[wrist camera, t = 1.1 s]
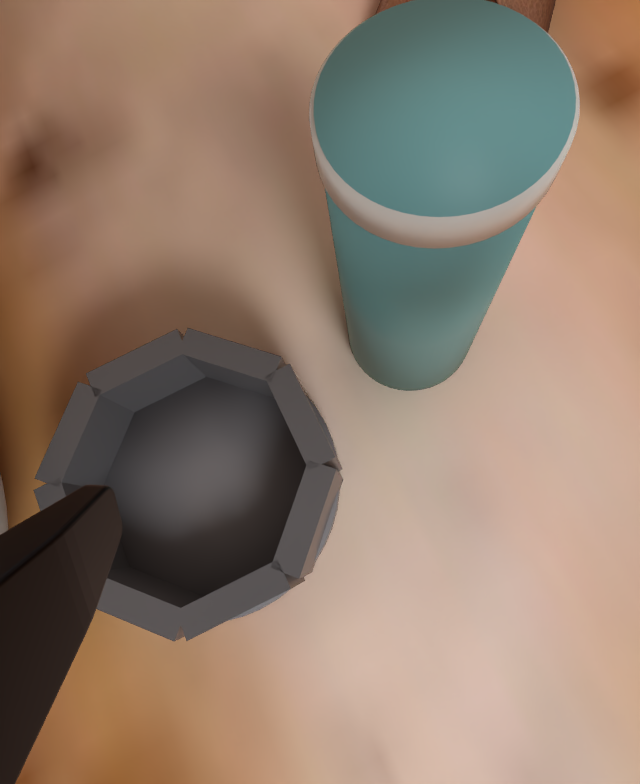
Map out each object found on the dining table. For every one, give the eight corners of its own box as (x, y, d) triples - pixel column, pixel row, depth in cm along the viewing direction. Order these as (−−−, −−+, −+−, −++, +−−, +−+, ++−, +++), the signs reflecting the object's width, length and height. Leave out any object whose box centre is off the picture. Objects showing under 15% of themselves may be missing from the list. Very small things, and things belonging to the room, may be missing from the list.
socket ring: (386, 545, 21) (387, 547, 18) (139, 669, 21) (93, 694, 18) (274, 319, 24) (256, 284, 21) (54, 427, 24) (1, 409, 21)
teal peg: (497, 357, 23) (638, 139, 10) (381, 414, 23) (383, 265, 10) (434, 255, 24) (491, -47, 12) (325, 308, 24) (266, 63, 12)
